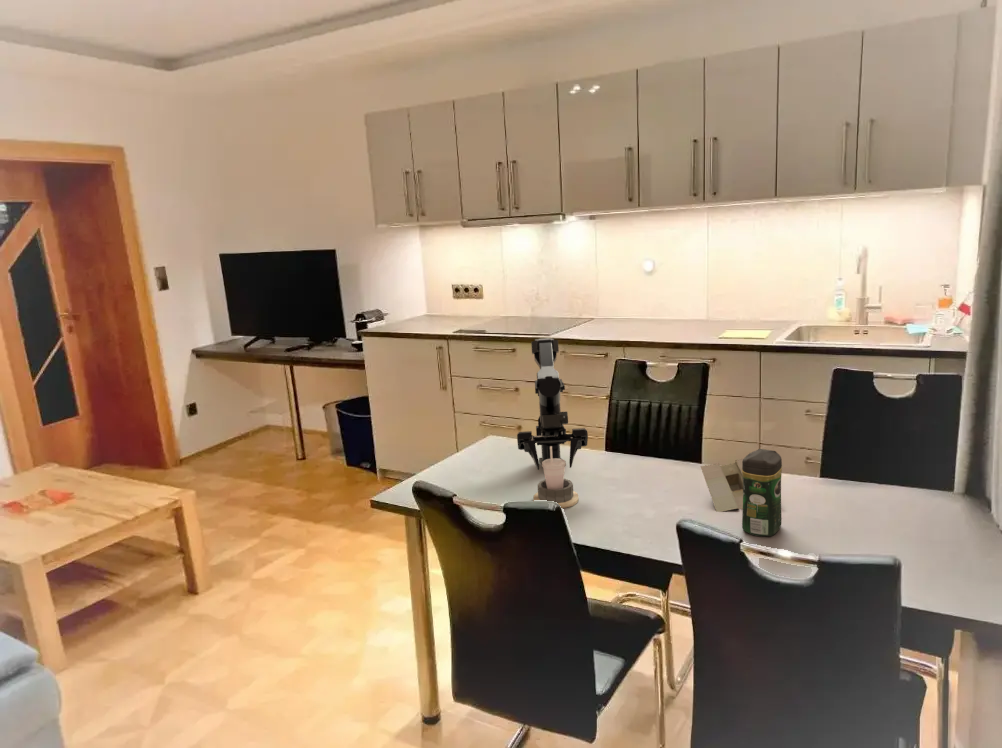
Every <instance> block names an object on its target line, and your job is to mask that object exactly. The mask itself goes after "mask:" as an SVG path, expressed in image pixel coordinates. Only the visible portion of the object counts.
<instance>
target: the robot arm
mask: <svg viewBox="0 0 1002 748" xmlns="http://www.w3.org/2000/svg"><path fill="white" fill-rule="evenodd" d="M530 343H531V355H534V357H533V358H534V362H535V363H536V364H537V366H538V367H539V370H538V371H537V372H536V380H534V389H535V390H534V393H535V394H537V396H538V399H539V400H538V401H539V402H538V403H539V404H538V405H539V407H538V408H539V416H538V419H537V425H536V426H535V431H536V433H535V434H536V435H533V434H532V430H530V431H529V430H527V431H518V433H517V434H516V439H517V449H518V450H521V451H522V450H523V451H524V453H528V454H529V456H530V457H531V459H532V461H533V463H534V464H535V467H536V469H537V470H540V464H539V463H541V464H542V462H543V461H544V460H546V459H550V446H552V456H553V458H558V459H562V457H561V445H565V443H567V442H570V447H569V448H570V449H569V462H568V463H569V468H570V469H571V468H572V467H573V464H574V463H573V462H574V459H575V456H576V454H577V452H578V450H581V449H582V447H587V446H588V441H589V440H588V438H589V435H588V434H589V433H588V429H586V428H572V431H571V433H567V429H566V428H565V426H564V425H568V424H569V417H568V416H569V415H568V411H561V393H564V391H565V390H566V387H565V386H566V385H565V383H564V381H563V380H562V378H560V373H559V371H558V370H557V369H555V365H554V364H555V363H556V361H557V356H558V354H559V352H560V351H559V348H560V347H559V340H558V339H554V337H553V338H551V337H546V338H545V337H544V338H538V339H537V338H536V339H534V340H533V341H531V342H530ZM536 445H537V446H540V448H541V457H538V452H537V447H536Z"/></svg>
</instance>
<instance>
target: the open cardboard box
mask: <svg viewBox="0 0 1002 748" xmlns="http://www.w3.org/2000/svg"><path fill="white" fill-rule="evenodd" d="M743 459H744V458H739V459H736V460H735V462H733V463H729V464H724V465H720V463H719V462H718V463H713V464H712V463H711V464H707V465H701V466H700V470H701V472H702V474H703V475H702V476H703V478H704V480H705V484H706V487H707V489H708V492H709V495H710V497H711V500H712V503H713V506H714V508H715V509H714V510H715V512H716V513H721V512H727V511H731V510H743V474H742V461H743Z"/></svg>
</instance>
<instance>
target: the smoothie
mask: <svg viewBox="0 0 1002 748" xmlns="http://www.w3.org/2000/svg"><path fill="white" fill-rule="evenodd" d="M566 466H567V462H566V460H565V459H563V458H561V459H558V458H553V456H552V446H550V459H546V460H544V461H543V462H542V463H541V468H543V469H542V470H543V473H544V478H545V479H544V480H546V485H547V489H553V490H556V489H563V483H564V479H565V468H566Z"/></svg>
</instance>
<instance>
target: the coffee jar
mask: <svg viewBox="0 0 1002 748" xmlns="http://www.w3.org/2000/svg"><path fill="white" fill-rule="evenodd" d="M742 459H743V461H742V474H743V509H742V515H741V516H742V517H741V518H742V519H741V522H742V523H741V524H742V525H741V527H742V530H743V532H746V533H748V534H749V535H752V536H756V537H772V536H774V535H776V533H778V532H779V530H780V528H781V527H782V473H783V472H782V471H783V470H782V469H783V463H782V456H781V455H780V454H779V453H778V452H777V451H776V450H774V449H773V450H770V449H764V448H758V449H756V450H754V451H752V452H749V453H748V454H747V455H746V456H745V457H744V458H742Z"/></svg>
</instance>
